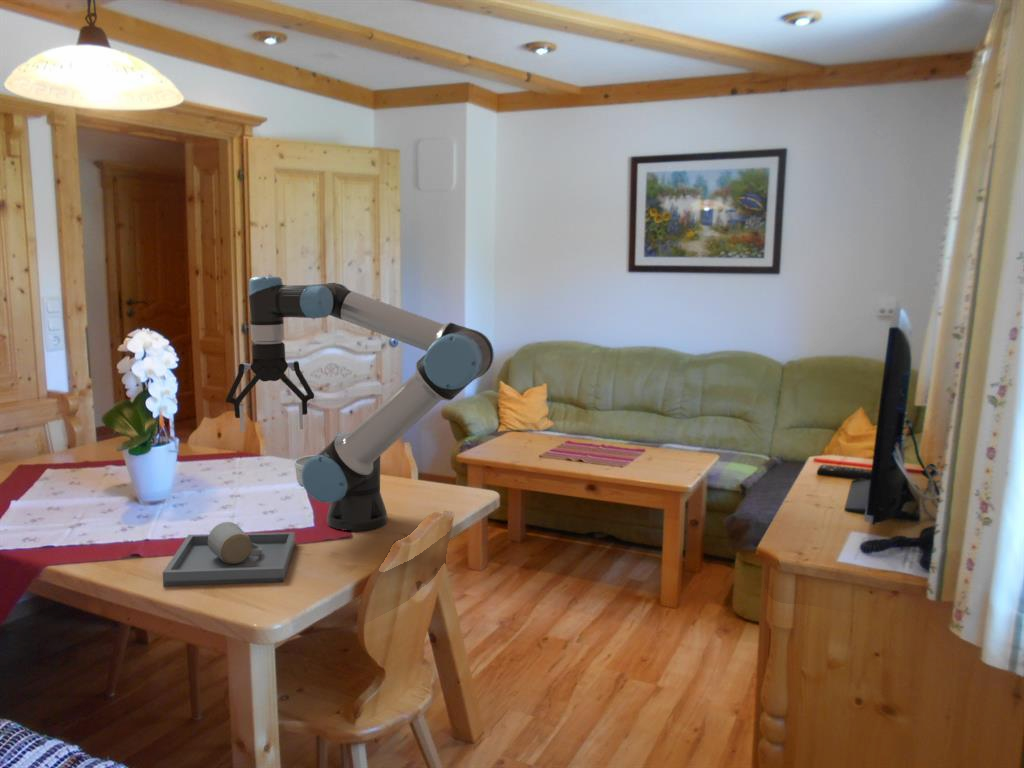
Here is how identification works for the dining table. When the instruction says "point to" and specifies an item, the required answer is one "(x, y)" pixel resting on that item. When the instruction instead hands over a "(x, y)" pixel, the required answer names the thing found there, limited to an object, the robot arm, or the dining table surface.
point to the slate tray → (207, 569)
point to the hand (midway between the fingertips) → (272, 429)
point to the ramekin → (300, 467)
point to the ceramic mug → (231, 543)
